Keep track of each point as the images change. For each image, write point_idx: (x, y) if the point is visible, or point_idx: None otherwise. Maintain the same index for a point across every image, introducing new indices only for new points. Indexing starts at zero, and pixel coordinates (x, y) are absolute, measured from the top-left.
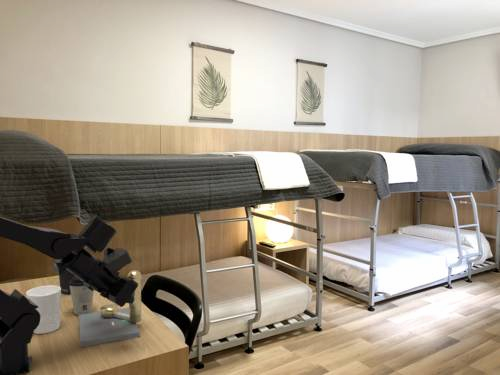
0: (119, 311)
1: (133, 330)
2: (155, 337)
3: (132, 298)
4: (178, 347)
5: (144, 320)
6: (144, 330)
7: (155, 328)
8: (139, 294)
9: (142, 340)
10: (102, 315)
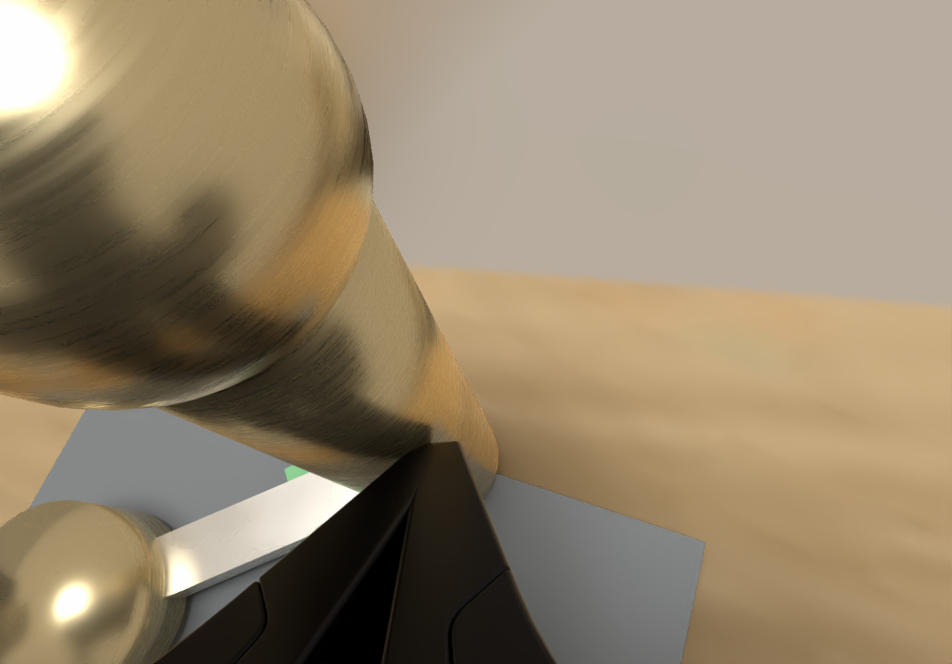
0: (109, 473)
1: (624, 574)
2: (789, 429)
3: (472, 476)
4: None
5: None
6: (581, 441)
7: (602, 347)
8: (431, 314)
9: (787, 559)
10: None
